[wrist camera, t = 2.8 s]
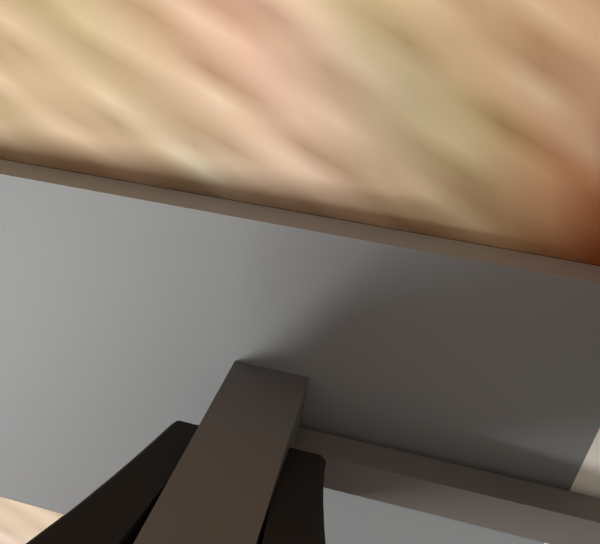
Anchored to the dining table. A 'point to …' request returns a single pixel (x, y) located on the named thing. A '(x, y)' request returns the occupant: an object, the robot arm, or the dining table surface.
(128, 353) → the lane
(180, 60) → the dining table surface
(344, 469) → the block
